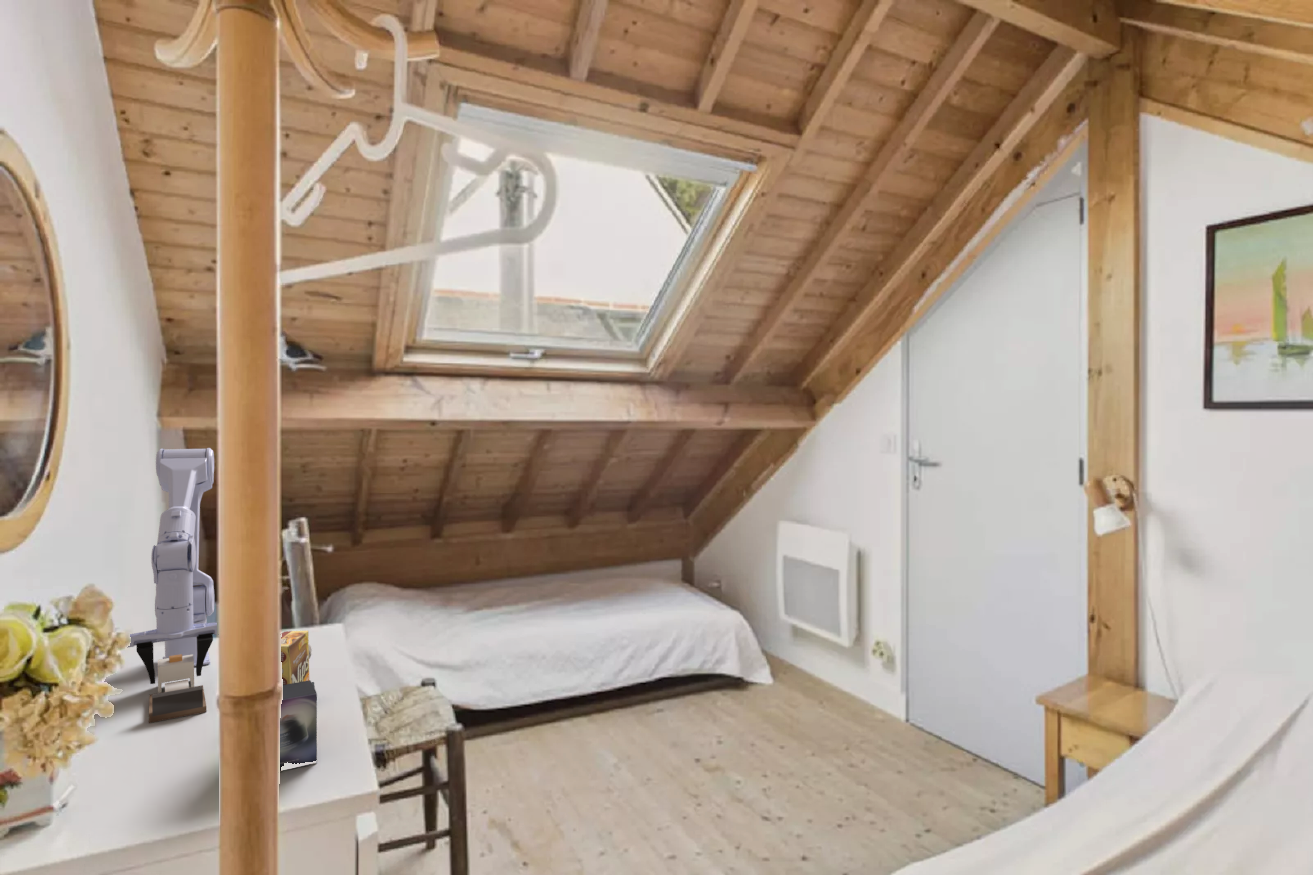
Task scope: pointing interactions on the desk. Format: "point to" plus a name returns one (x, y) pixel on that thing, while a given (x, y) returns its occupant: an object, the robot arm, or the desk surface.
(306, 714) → the small box
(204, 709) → the board
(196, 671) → the robot arm
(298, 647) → the candy box
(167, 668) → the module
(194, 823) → the desk surface
